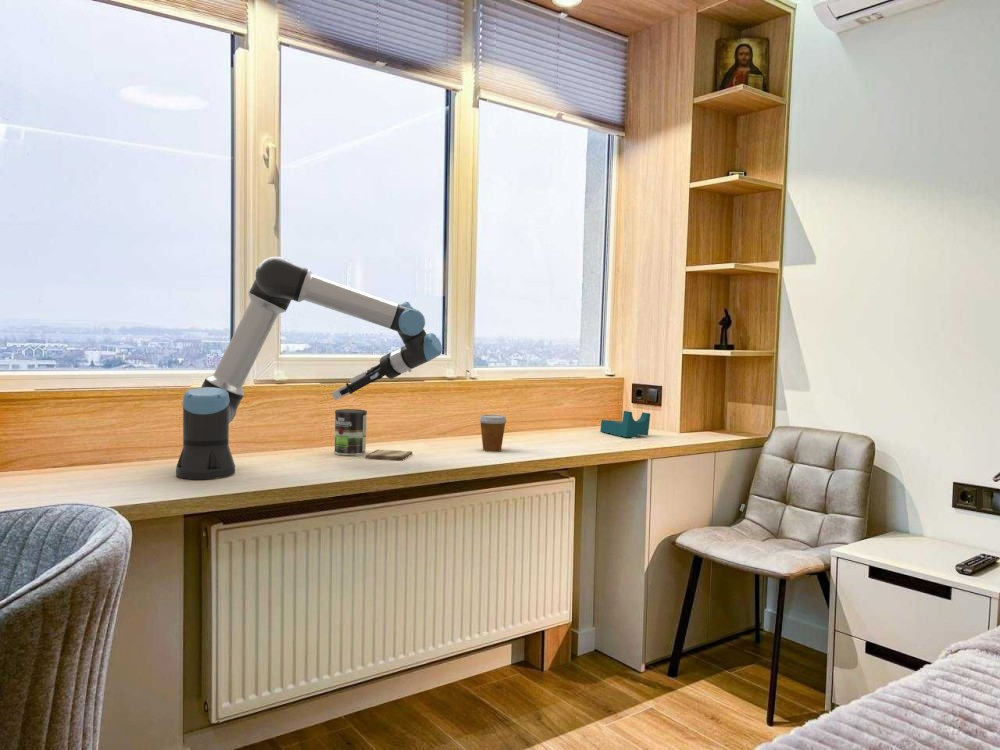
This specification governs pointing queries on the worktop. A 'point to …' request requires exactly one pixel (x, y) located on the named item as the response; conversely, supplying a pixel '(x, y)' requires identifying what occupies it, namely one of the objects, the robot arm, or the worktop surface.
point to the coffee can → (350, 432)
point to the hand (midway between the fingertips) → (342, 389)
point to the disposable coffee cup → (492, 431)
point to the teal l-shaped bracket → (627, 425)
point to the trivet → (389, 454)
